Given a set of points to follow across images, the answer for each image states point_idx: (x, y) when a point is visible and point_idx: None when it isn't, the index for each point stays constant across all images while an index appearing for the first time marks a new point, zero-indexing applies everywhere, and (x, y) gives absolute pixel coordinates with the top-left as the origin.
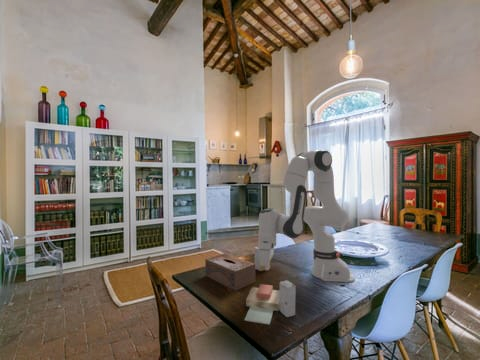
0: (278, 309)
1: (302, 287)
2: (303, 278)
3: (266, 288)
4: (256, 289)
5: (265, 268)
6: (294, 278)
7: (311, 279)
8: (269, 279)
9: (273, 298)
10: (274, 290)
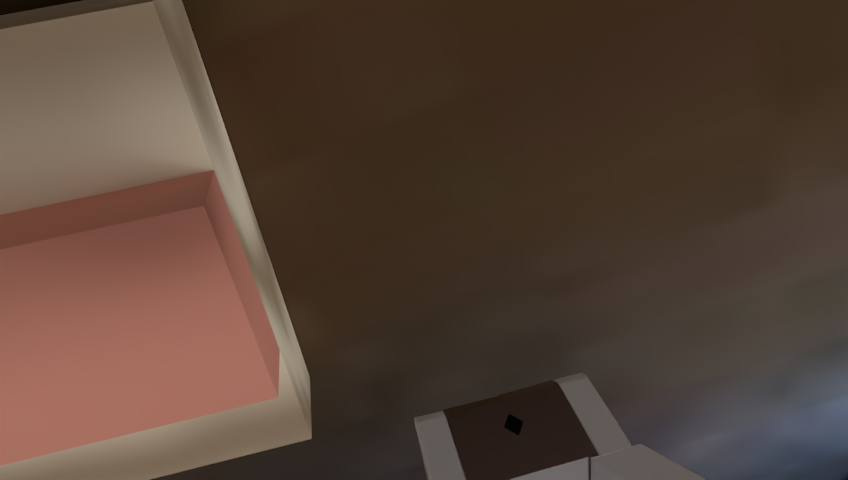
0: None
1: None
2: (827, 400)
3: (100, 368)
4: (116, 127)
5: (426, 456)
6: (824, 332)
7: (807, 457)
8: (774, 63)
9: None
10: None
